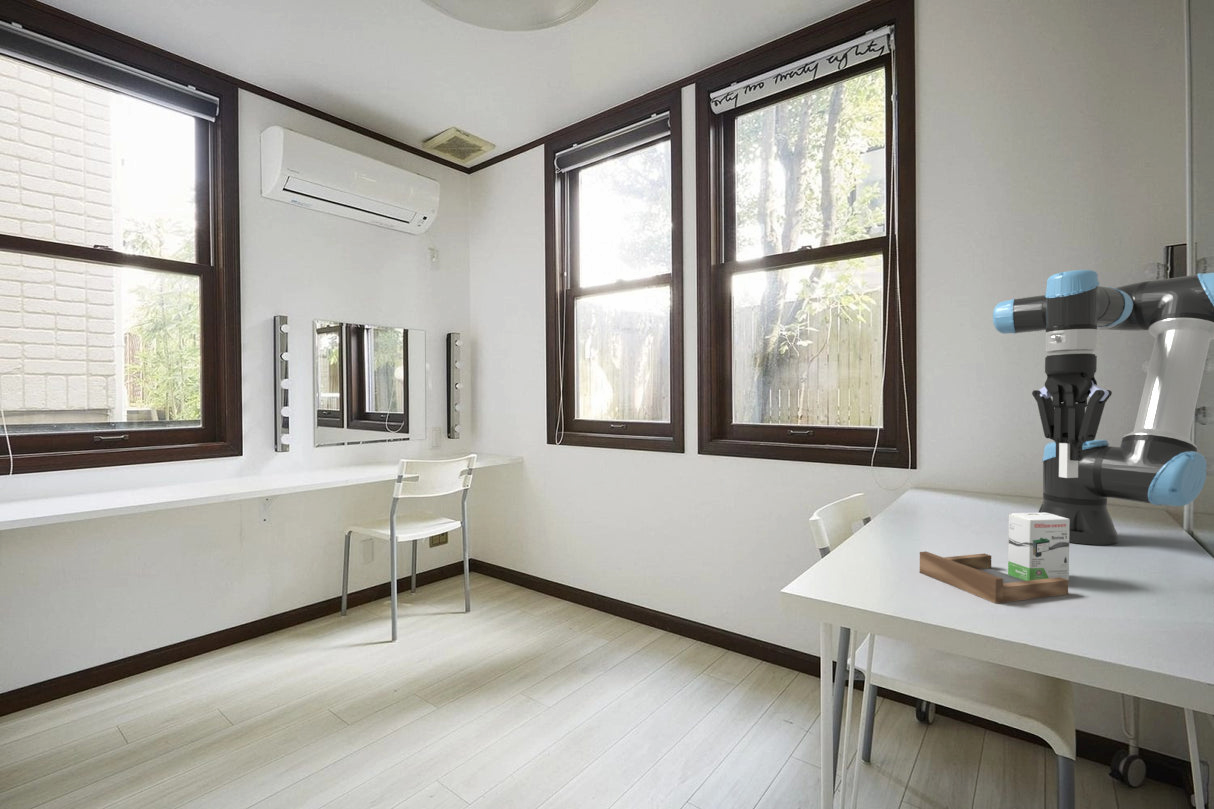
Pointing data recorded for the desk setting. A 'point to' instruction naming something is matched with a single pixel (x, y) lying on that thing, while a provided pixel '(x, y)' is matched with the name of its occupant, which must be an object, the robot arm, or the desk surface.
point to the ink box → (1038, 546)
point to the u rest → (987, 578)
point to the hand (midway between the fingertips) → (1068, 477)
